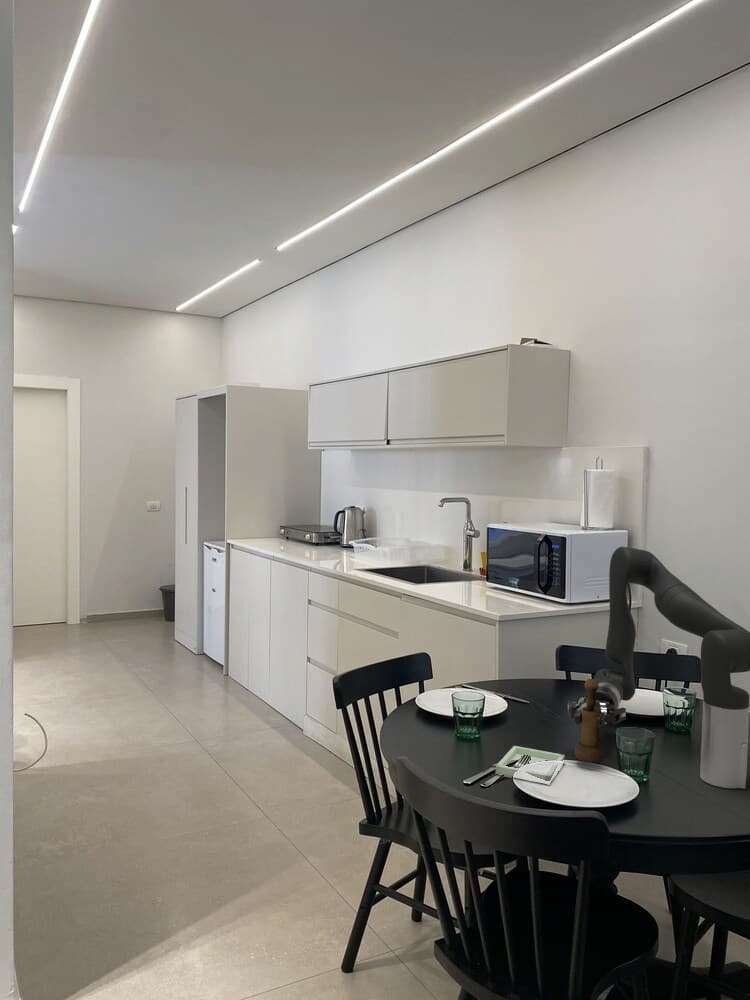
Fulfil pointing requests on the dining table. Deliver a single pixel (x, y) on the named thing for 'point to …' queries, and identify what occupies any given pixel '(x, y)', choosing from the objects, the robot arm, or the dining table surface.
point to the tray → (535, 757)
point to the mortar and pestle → (590, 728)
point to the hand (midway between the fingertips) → (588, 721)
